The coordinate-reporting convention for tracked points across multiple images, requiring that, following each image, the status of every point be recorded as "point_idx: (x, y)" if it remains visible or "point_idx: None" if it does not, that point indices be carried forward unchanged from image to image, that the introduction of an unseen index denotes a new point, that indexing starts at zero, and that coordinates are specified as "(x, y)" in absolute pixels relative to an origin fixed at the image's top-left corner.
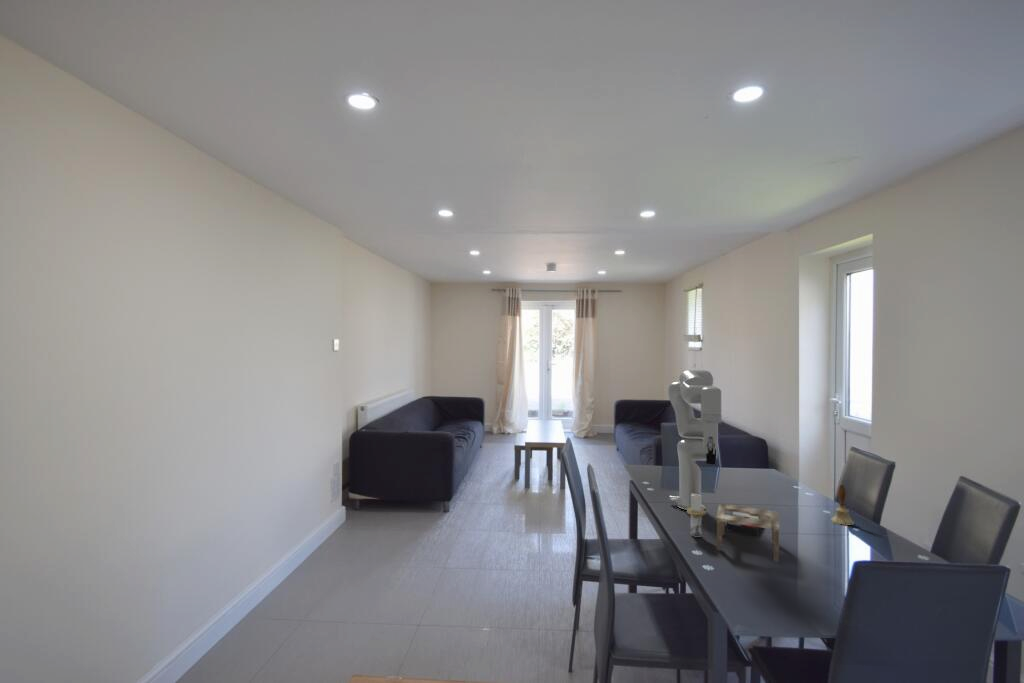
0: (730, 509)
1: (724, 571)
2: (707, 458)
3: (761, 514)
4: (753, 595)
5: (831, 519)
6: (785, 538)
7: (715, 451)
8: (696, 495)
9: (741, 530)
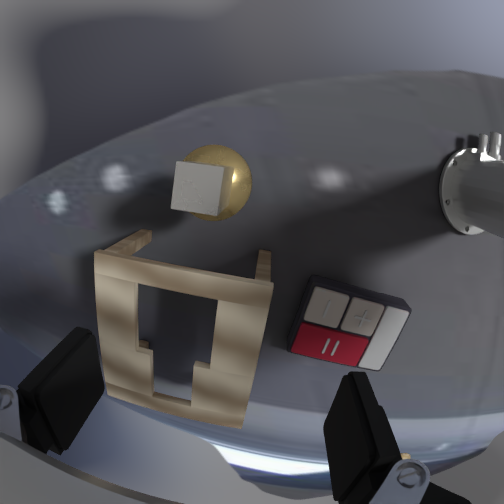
0: (216, 316)
1: (54, 233)
2: (53, 362)
3: (193, 391)
4: (12, 267)
5: (402, 455)
6: (289, 391)
7: (333, 489)
8: (189, 189)
9: (298, 313)
